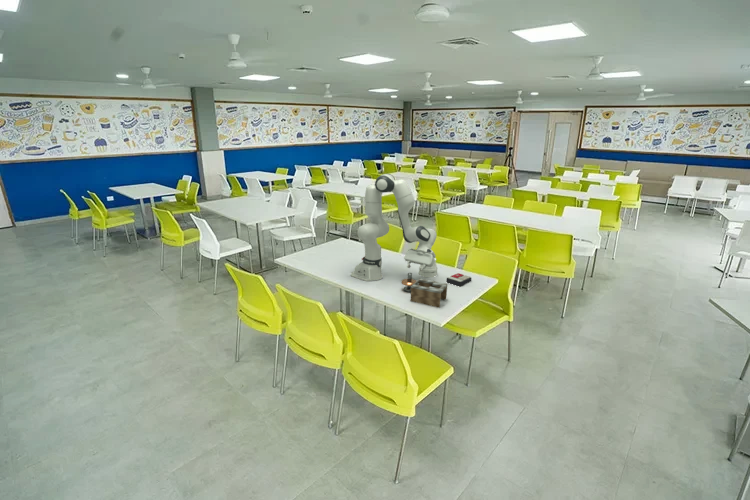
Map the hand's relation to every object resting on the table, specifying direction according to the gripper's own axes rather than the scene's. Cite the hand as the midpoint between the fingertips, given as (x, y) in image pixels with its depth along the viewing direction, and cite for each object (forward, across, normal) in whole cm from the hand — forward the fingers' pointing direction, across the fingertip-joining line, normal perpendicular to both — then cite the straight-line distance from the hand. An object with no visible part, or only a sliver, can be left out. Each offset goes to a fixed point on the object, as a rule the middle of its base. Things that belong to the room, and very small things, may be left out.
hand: (414, 269), depth 246 cm
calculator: (-11, +18, +30) cm, 37 cm away
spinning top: (+13, 0, +6) cm, 14 cm away
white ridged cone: (-11, -5, +29) cm, 32 cm away
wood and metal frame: (+17, +17, +2) cm, 24 cm away
